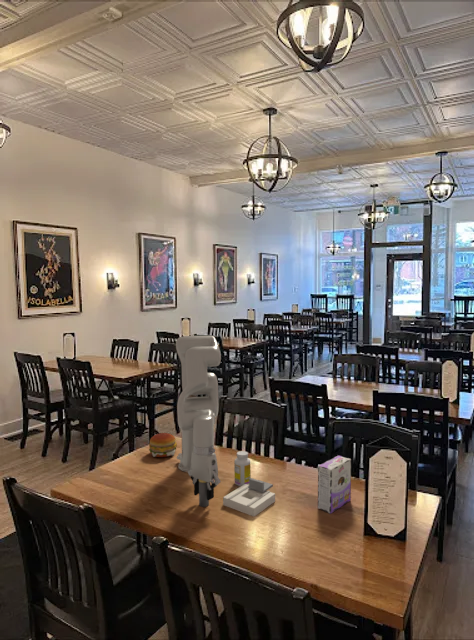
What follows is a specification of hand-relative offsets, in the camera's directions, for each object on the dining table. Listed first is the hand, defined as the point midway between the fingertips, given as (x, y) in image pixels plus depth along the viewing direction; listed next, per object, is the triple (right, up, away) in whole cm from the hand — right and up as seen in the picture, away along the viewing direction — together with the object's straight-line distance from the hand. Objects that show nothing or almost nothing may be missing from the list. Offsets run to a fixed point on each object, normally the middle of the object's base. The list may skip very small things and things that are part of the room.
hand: (203, 495), depth 165 cm
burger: (-24, 0, +50) cm, 56 cm away
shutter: (+21, +1, +7) cm, 23 cm away
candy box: (+49, -4, 0) cm, 49 cm away
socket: (+17, -3, +1) cm, 17 cm away
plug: (0, -3, 0) cm, 3 cm away
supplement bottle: (+15, -2, +18) cm, 23 cm away
